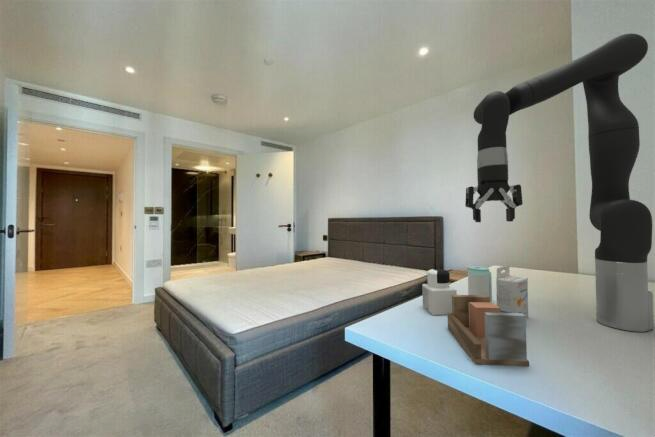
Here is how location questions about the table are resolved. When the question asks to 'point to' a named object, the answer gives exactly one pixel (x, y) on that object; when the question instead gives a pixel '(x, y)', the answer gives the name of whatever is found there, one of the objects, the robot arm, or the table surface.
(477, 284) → the can
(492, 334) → the shelf
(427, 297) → the container
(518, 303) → the ink box
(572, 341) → the table surface
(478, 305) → the book
